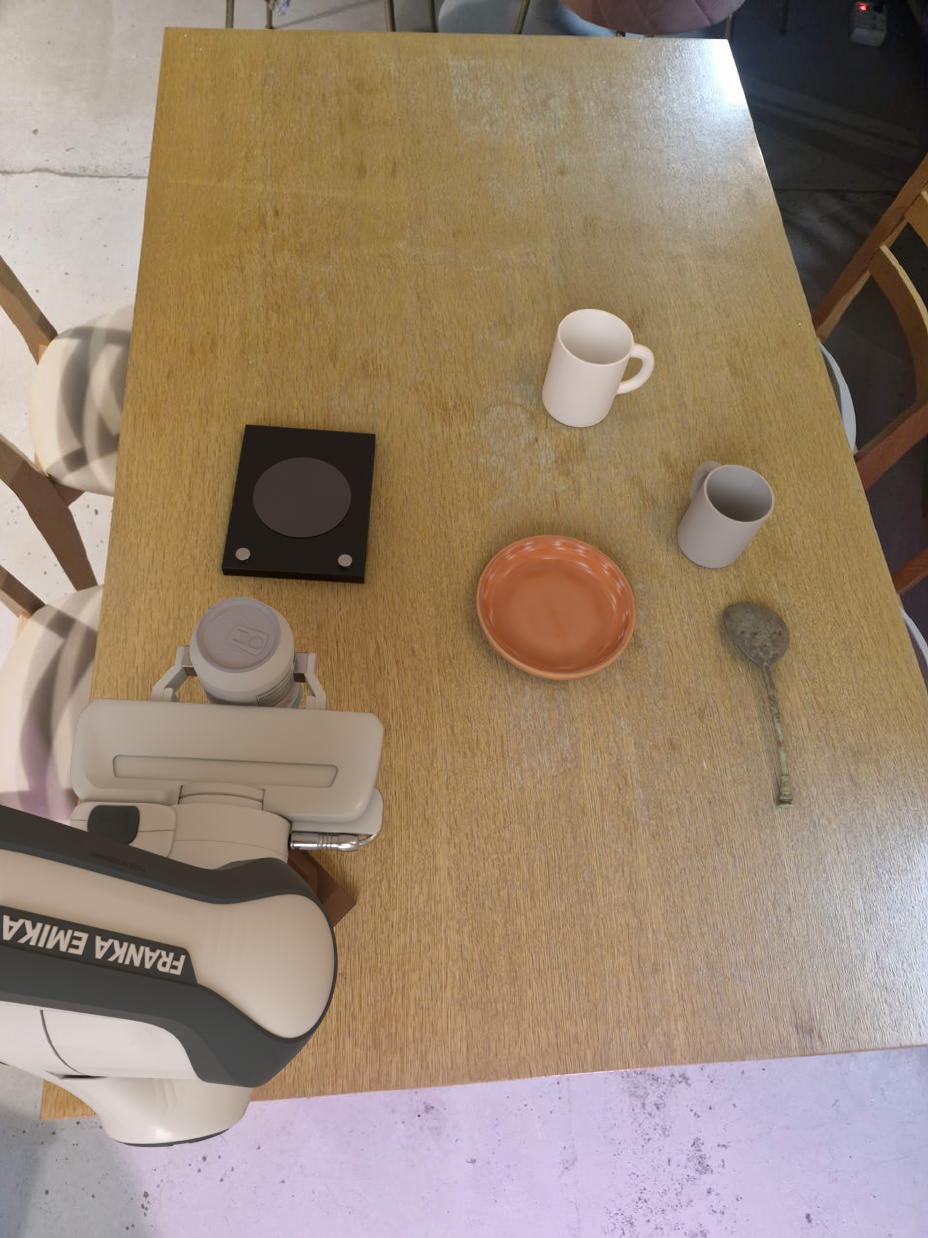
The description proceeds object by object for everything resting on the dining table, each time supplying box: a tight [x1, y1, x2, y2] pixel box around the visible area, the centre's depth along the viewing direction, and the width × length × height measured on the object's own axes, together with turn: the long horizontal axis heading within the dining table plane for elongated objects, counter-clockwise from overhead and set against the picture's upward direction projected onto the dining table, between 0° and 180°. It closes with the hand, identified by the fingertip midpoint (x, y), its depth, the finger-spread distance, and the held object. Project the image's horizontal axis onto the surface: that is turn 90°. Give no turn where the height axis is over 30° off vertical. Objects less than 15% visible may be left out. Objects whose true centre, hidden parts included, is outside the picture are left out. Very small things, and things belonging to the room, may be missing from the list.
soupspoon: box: [723, 602, 798, 809], centre depth 83 cm, size 22×3×7 cm
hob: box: [220, 423, 377, 585], centre depth 88 cm, size 18×14×2 cm
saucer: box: [475, 534, 637, 681], centre depth 85 cm, size 16×16×3 cm
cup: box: [676, 459, 776, 569], centre depth 89 cm, size 7×10×9 cm
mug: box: [541, 308, 655, 428], centre depth 95 cm, size 12×8×10 cm
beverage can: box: [189, 596, 303, 709], centre depth 62 cm, size 7×7×12 cm
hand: (248, 651), depth 61 cm, fingers closed on beverage can, 7 cm apart
